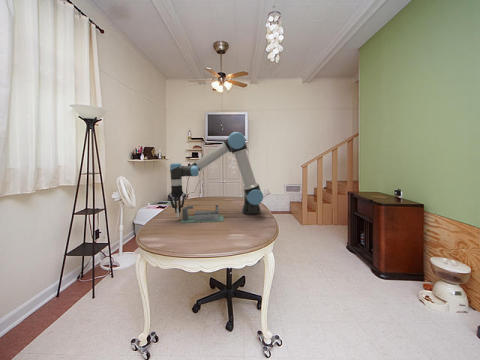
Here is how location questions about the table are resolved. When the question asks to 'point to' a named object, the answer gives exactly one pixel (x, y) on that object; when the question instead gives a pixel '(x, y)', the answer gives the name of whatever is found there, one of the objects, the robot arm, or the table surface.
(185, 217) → the clip
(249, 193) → the robot arm
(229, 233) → the table surface
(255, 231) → the table surface
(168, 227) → the table surface
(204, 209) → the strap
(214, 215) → the heatsink
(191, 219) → the board
